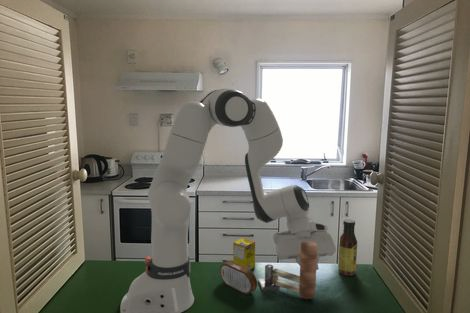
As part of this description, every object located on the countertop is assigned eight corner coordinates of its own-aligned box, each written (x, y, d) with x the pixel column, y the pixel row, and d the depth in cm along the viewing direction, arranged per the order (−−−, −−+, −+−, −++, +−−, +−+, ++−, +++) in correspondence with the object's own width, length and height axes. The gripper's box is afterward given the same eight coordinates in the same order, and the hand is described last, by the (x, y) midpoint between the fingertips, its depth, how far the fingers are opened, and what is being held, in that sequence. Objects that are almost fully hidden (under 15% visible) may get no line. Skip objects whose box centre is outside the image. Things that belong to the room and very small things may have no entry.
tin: (257, 295, 113) (257, 271, 112) (251, 299, 111) (251, 274, 110) (224, 279, 124) (224, 257, 122) (218, 282, 121) (218, 259, 120)
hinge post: (262, 290, 116) (262, 271, 115) (258, 281, 122) (258, 263, 121) (279, 289, 117) (280, 269, 116) (274, 280, 123) (275, 261, 122)
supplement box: (255, 268, 131) (255, 241, 129) (245, 274, 127) (245, 246, 125) (243, 263, 135) (243, 237, 133) (233, 269, 130) (233, 242, 129)
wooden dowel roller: (269, 286, 116) (270, 238, 113) (277, 279, 120) (278, 233, 117) (311, 300, 108) (313, 249, 105) (317, 293, 112) (319, 243, 109)
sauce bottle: (356, 277, 125) (360, 224, 122) (338, 275, 126) (341, 223, 123) (354, 269, 131) (357, 218, 128) (337, 267, 132) (339, 217, 129)
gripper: (274, 228, 117) (282, 269, 109) (331, 225, 120) (342, 264, 113) (270, 235, 122) (277, 275, 114) (325, 232, 125) (335, 270, 118)
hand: (310, 270), depth 113 cm, fingers open, 2 cm apart
